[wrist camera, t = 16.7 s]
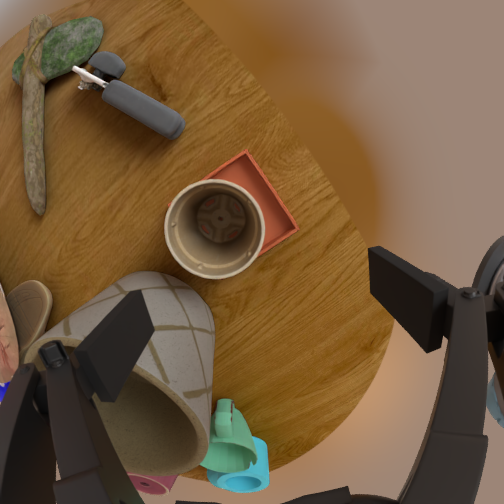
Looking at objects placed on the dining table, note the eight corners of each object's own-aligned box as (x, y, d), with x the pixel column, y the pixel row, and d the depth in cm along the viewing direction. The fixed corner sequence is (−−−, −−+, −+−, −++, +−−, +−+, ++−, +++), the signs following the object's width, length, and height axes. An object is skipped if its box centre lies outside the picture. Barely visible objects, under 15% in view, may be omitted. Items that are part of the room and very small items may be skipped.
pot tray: (246, 150, 32) (246, 148, 31) (297, 226, 35) (300, 229, 33) (171, 203, 34) (167, 204, 32) (223, 274, 36) (221, 280, 35)
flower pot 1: (197, 489, 33) (203, 438, 45) (118, 457, 31) (138, 406, 43) (166, 506, 36) (174, 462, 48) (101, 478, 33) (118, 436, 46)
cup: (243, 467, 48) (243, 499, 40) (205, 454, 47) (201, 488, 38) (276, 443, 46) (280, 479, 37) (235, 429, 44) (234, 467, 36)
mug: (255, 431, 45) (256, 473, 35) (203, 429, 44) (196, 470, 35) (257, 375, 41) (259, 422, 31) (194, 374, 41) (183, 419, 31)
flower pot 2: (208, 164, 32) (194, 160, 24) (275, 204, 34) (284, 213, 25) (170, 230, 34) (148, 247, 26) (235, 268, 36) (231, 296, 27)
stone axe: (31, 219, 30) (-38, 101, 20) (47, 213, 34) (-22, 104, 25) (161, 77, 28) (63, -15, 19) (166, 88, 33) (73, -3, 24)
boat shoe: (22, 265, 31) (53, 264, 39) (-19, 348, 31) (6, 340, 39) (49, 313, 30) (80, 305, 38) (3, 386, 31) (28, 374, 39)
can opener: (77, 84, 29) (59, 75, 24) (104, 49, 28) (88, 36, 23) (169, 151, 32) (157, 147, 27) (202, 111, 31) (194, 100, 26)
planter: (247, 299, 37) (247, 409, 18) (194, 390, 42) (174, 491, 22) (120, 236, 35) (22, 292, 16) (91, 339, 39) (29, 419, 20)
